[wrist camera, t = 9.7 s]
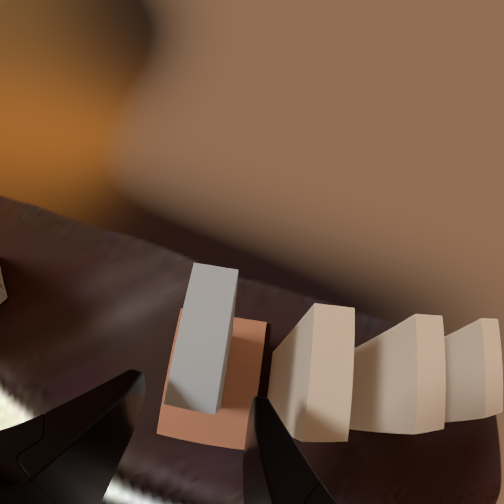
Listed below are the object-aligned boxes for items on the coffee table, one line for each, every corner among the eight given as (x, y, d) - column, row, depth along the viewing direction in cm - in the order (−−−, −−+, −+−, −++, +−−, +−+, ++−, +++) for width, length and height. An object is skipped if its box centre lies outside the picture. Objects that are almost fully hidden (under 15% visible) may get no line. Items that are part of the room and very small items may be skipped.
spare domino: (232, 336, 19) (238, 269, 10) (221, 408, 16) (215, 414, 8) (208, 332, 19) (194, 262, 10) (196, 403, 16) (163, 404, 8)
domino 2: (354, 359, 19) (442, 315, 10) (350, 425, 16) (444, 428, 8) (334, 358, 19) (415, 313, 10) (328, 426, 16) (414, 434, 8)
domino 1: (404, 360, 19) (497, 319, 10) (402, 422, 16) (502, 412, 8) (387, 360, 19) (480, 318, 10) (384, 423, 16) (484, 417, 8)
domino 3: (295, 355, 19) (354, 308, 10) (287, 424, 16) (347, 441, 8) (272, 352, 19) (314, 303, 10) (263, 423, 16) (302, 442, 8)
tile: (249, 449, 15) (249, 450, 15) (158, 432, 15) (156, 433, 15) (265, 323, 20) (266, 322, 19) (181, 310, 20) (180, 308, 19)
